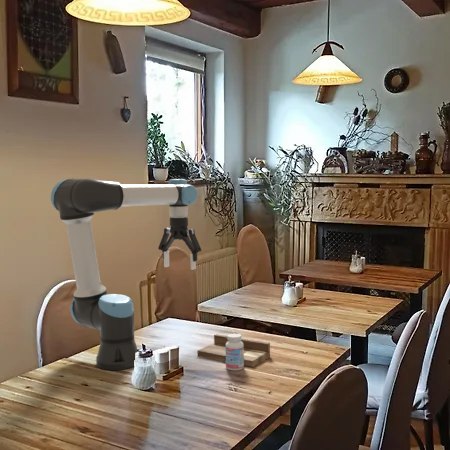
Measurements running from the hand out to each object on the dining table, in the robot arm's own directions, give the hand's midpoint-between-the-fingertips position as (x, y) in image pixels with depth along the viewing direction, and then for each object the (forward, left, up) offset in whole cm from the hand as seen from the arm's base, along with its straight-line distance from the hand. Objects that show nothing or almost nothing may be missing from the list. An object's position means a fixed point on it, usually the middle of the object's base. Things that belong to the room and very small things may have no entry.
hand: (179, 268), depth 244 cm
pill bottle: (-29, -45, -26) cm, 59 cm away
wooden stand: (-18, -38, -26) cm, 49 cm away
